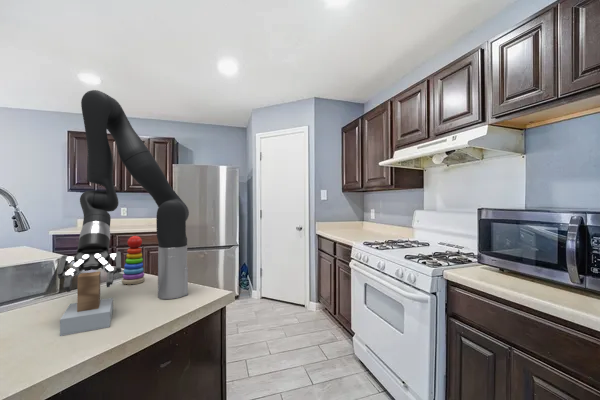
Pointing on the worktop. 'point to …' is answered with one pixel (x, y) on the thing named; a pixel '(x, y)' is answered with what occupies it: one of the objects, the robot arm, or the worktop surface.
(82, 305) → the walnut block
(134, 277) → the stacking toy
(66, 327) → the slate slab
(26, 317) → the worktop surface
